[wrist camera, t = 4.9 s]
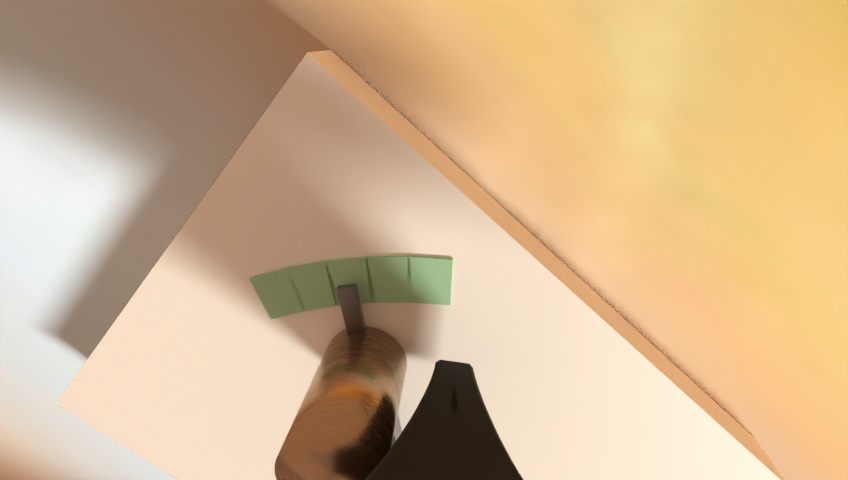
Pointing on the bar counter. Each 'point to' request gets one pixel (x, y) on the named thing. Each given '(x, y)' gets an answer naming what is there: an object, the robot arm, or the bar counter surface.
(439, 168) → the board
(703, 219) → the bar counter surface
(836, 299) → the bar counter surface
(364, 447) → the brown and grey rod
